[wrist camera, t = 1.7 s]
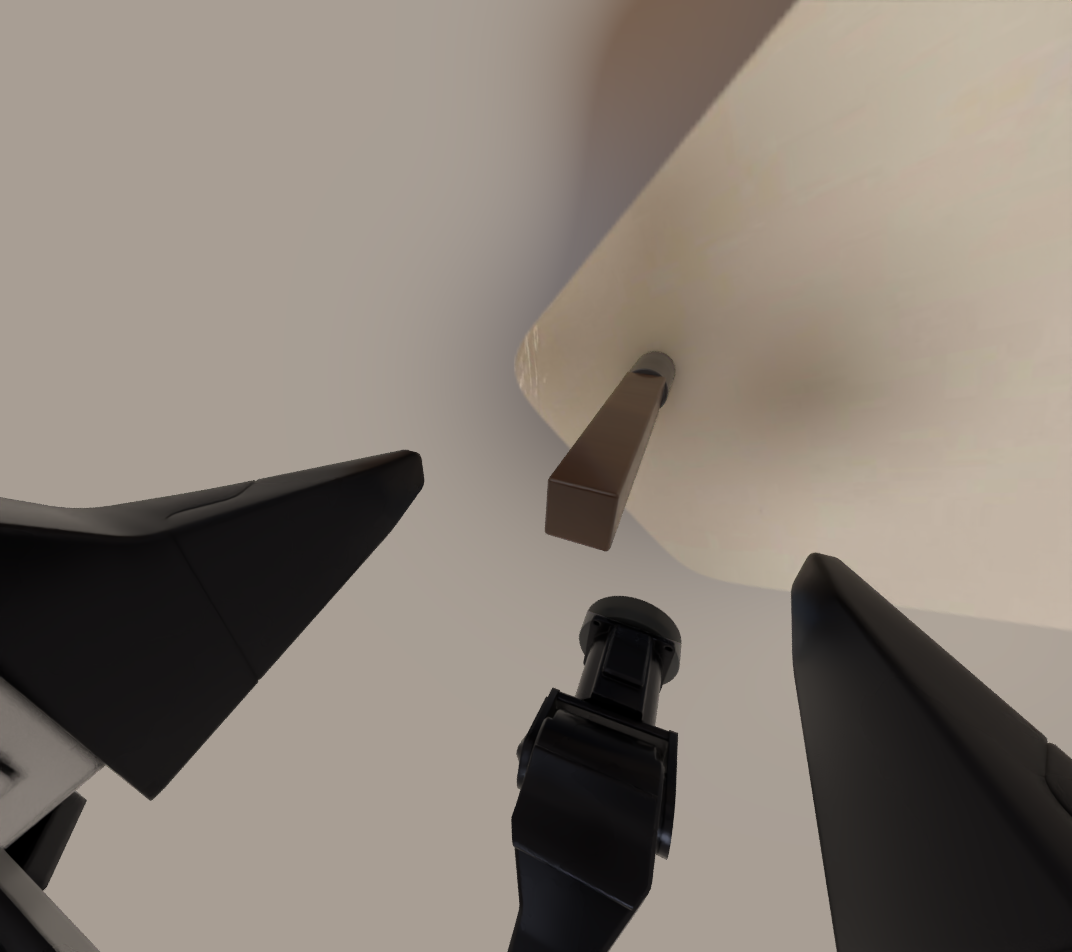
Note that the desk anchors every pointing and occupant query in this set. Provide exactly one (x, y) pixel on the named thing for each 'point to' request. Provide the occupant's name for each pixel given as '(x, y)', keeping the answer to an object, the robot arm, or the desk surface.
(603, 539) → the brown lever handle
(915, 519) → the desk surface
